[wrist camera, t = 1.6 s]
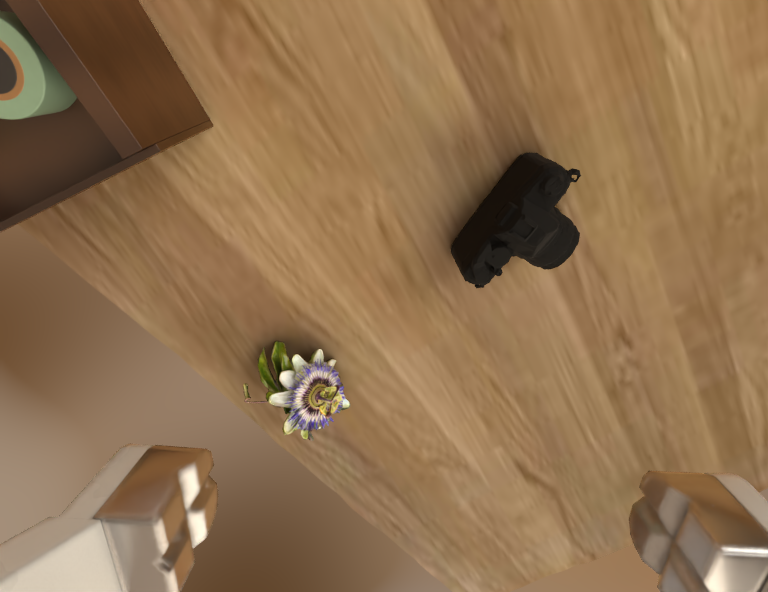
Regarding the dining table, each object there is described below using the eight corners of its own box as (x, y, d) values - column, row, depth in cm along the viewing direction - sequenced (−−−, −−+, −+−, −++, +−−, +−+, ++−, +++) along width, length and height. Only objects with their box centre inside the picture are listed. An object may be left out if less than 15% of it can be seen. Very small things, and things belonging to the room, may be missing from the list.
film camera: (499, 288, 52) (526, 328, 44) (439, 250, 49) (456, 287, 41) (589, 186, 46) (637, 212, 38) (527, 136, 43) (566, 154, 35)
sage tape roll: (-40, 38, 27) (-97, 35, 24) (32, -5, 26) (-16, -15, 23) (33, 126, 30) (-9, 135, 27) (100, 90, 29) (66, 95, 26)
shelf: (-73, 73, 36) (-308, 80, 23) (115, -38, 34) (-33, -99, 21) (48, 208, 43) (-83, 273, 30) (213, 125, 40) (148, 157, 27)
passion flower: (330, 337, 60) (372, 405, 54) (275, 383, 61) (310, 454, 55) (286, 315, 50) (331, 395, 45) (221, 370, 51) (257, 455, 45)
